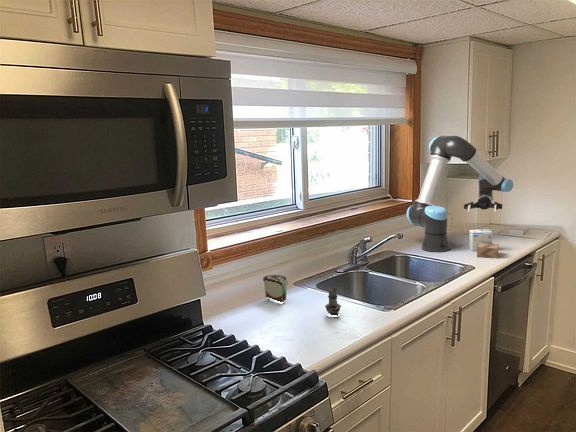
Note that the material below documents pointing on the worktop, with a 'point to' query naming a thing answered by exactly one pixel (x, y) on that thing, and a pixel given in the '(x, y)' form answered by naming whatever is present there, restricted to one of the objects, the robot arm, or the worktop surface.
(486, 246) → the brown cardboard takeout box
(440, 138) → the robot arm
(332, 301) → the dark grey tall piece
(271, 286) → the food container
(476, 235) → the light bulb box
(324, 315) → the worktop surface
